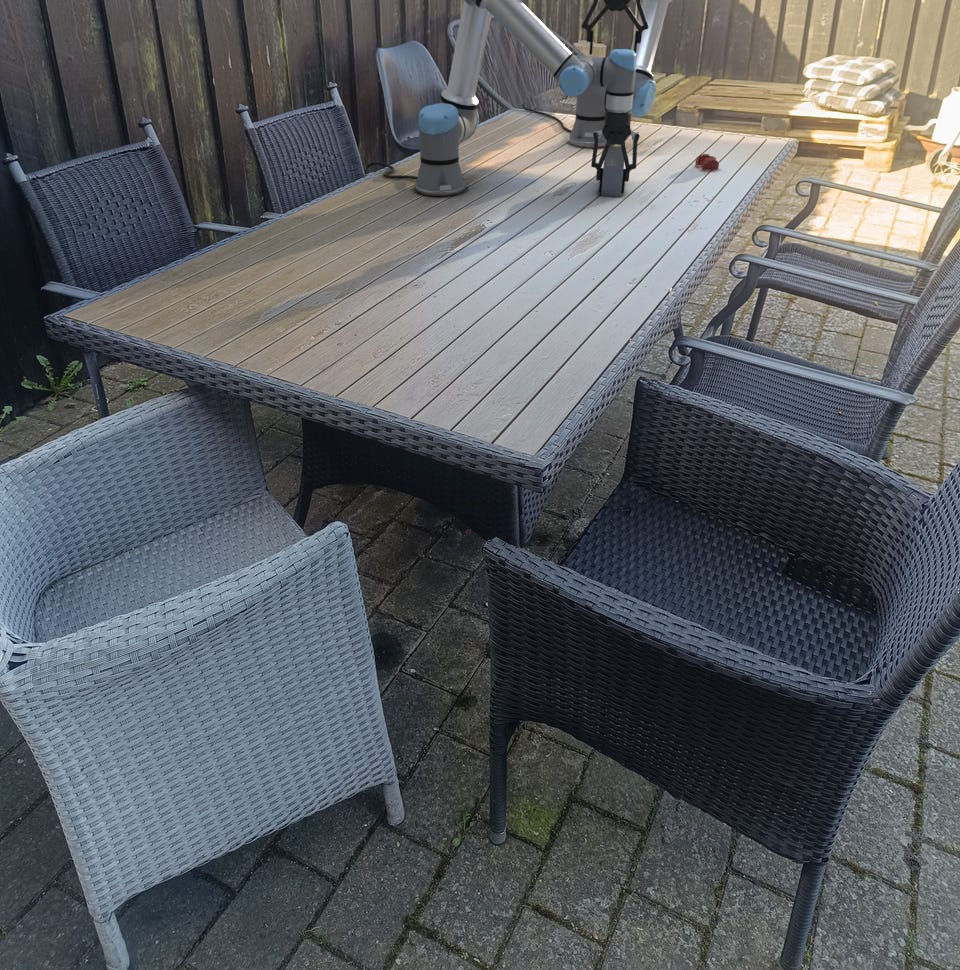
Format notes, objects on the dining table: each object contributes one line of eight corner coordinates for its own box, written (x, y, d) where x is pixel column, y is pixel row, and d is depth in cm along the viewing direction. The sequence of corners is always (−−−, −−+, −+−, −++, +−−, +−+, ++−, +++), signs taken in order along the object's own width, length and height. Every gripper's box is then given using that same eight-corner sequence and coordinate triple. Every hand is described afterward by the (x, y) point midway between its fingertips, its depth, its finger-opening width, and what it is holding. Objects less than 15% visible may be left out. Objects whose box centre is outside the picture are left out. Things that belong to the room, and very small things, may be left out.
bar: (620, 196, 253) (623, 166, 248) (601, 196, 253) (603, 165, 248) (622, 175, 271) (624, 146, 266) (603, 174, 272) (606, 145, 267)
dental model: (710, 150, 279) (721, 156, 273) (708, 163, 282) (719, 170, 275) (694, 152, 278) (705, 158, 272) (693, 165, 281) (704, 172, 274)
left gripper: (651, 108, 244) (642, 189, 257) (586, 106, 246) (580, 186, 260) (652, 114, 238) (643, 196, 251) (584, 111, 240) (579, 194, 254)
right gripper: (661, -26, 252) (652, 53, 265) (578, -27, 255) (573, 51, 268) (661, -23, 246) (653, 57, 259) (576, -25, 249) (571, 55, 262)
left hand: (611, 191), depth 255 cm, fingers closed on bar, 6 cm apart
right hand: (612, 54), depth 263 cm, fingers open, 13 cm apart
